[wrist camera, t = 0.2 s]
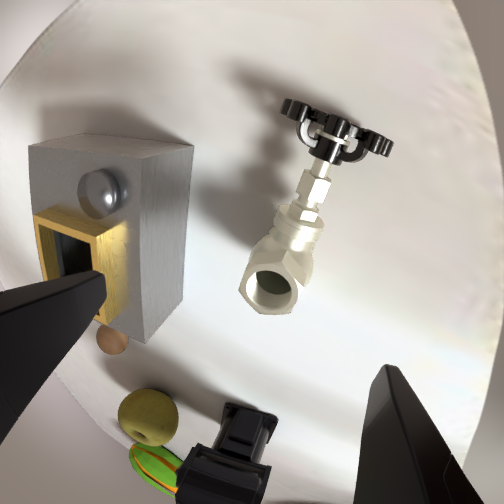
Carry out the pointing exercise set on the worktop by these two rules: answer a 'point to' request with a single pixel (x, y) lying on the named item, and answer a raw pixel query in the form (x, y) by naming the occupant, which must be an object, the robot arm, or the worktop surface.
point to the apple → (149, 417)
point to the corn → (155, 465)
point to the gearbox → (115, 221)
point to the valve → (302, 211)
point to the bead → (111, 340)
